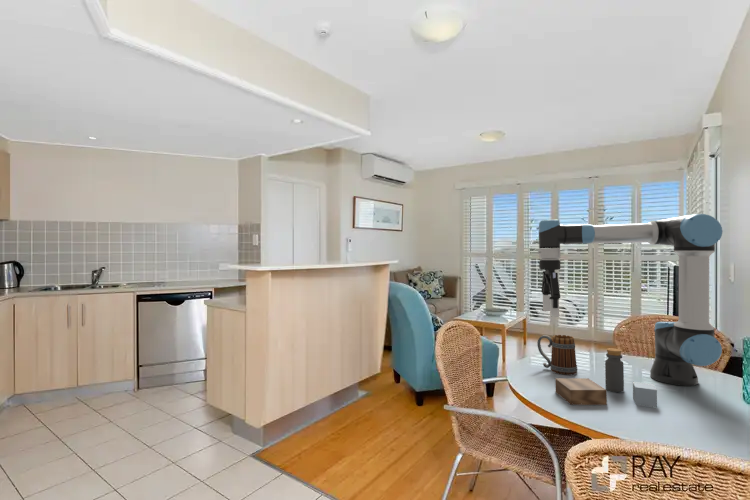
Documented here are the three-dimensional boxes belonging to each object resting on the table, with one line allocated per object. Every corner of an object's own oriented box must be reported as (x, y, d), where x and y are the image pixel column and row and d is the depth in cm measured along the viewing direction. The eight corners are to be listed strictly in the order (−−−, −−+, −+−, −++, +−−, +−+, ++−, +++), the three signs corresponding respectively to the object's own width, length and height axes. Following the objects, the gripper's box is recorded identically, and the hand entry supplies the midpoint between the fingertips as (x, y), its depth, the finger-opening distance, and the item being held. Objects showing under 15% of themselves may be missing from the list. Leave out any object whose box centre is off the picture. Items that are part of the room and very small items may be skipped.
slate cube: (653, 401, 134) (653, 384, 134) (657, 408, 129) (656, 389, 129) (633, 398, 137) (632, 381, 137) (635, 405, 132) (635, 387, 132)
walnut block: (588, 391, 144) (588, 378, 144) (606, 404, 132) (606, 389, 132) (555, 392, 144) (555, 378, 144) (570, 404, 132) (570, 390, 132)
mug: (578, 370, 170) (578, 335, 170) (576, 377, 161) (575, 340, 161) (540, 365, 178) (539, 332, 178) (535, 371, 169) (535, 336, 169)
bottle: (626, 393, 142) (626, 351, 142) (609, 392, 143) (608, 351, 144) (620, 387, 148) (619, 347, 148) (603, 386, 149) (602, 347, 149)
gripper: (533, 258, 166) (534, 308, 166) (546, 260, 141) (547, 319, 141) (552, 258, 164) (553, 309, 164) (568, 260, 140) (570, 319, 140)
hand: (550, 313), depth 153 cm, fingers open, 13 cm apart
